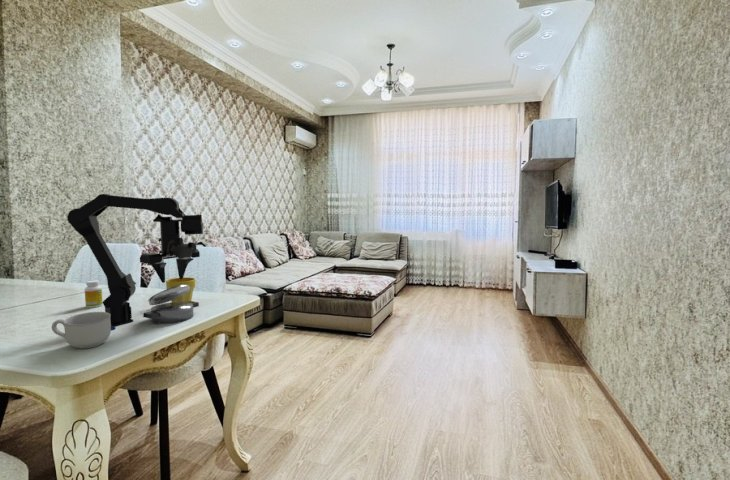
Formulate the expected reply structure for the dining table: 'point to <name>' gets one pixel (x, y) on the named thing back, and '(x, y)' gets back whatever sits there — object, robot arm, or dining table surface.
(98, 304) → the supplement bottle
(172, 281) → the plant pot
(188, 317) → the cooker pot
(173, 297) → the cooker lid
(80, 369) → the dining table surface
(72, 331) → the teacup
